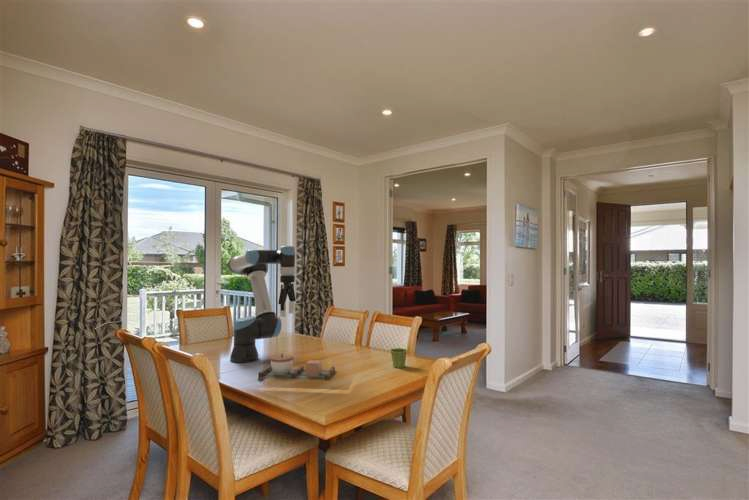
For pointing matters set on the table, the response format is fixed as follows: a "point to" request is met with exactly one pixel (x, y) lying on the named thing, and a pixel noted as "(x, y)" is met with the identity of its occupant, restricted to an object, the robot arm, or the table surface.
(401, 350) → the plant pot
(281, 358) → the lidded jar
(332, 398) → the table surface
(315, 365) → the terracotta block
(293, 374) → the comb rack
